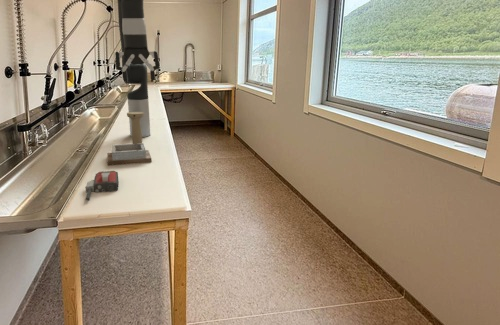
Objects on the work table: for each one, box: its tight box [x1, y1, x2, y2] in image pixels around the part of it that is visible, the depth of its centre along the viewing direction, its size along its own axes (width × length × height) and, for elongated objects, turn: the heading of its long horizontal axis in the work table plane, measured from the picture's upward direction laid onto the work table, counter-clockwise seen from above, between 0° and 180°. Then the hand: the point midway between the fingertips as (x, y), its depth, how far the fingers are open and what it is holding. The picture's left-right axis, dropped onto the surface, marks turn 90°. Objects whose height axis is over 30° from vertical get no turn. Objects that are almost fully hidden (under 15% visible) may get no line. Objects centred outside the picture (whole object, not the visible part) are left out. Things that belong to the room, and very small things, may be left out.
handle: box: [126, 111, 144, 144], centre depth 152 cm, size 5×6×15 cm
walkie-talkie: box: [85, 170, 119, 201], centre depth 110 cm, size 9×4×20 cm
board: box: [106, 149, 153, 166], centre depth 140 cm, size 12×15×2 cm
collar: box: [111, 142, 147, 161], centre depth 139 cm, size 11×11×3 cm
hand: (139, 82), depth 132 cm, fingers open, 8 cm apart
